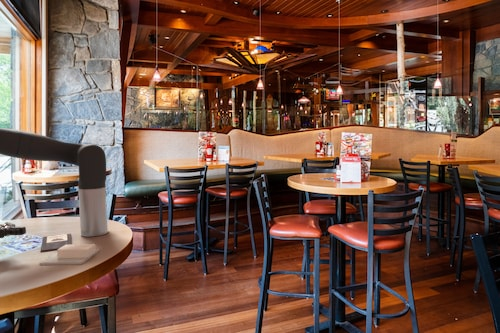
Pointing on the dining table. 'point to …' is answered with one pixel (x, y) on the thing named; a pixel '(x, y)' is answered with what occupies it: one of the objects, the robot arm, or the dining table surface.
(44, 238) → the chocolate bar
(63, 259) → the mat
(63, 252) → the deck box
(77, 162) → the robot arm
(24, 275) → the dining table surface
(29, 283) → the dining table surface
